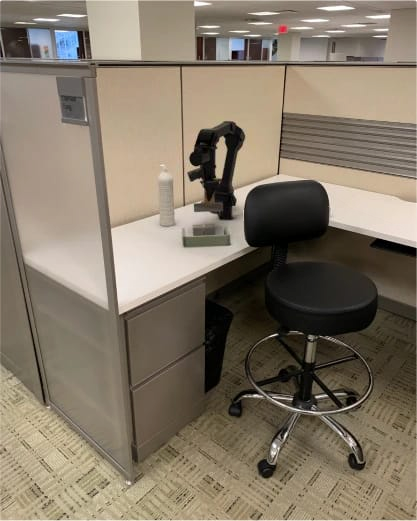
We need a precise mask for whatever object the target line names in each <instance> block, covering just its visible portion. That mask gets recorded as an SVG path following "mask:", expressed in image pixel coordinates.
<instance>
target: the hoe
mask: <svg viewBox="0 0 417 521" xmlns="http://www.w3.org/2000/svg"><path fill="white" fill-rule="evenodd" d="M203 191H204V192H203V194H204V196H203V197H204V199H203V200H204V203H201V202H198V203H197V202H196V203H195V202H194V203H193V212H194V213H203V212H204V213H205V212H207V213H208V212H209V213H210V212H215V211H223V203H222V202H217V203H213V196H212V198H211V201H207V195H206V190H205V189H204V188H203Z"/></svg>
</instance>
